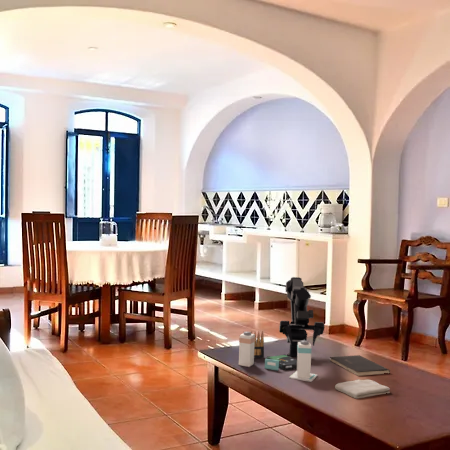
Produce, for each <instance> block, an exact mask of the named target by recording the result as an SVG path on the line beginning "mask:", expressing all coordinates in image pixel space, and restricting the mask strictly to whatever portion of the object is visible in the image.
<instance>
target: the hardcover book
mask: <svg viewBox="0 0 450 450" xmlns="http://www.w3.org/2000/svg"><path fill="white" fill-rule="evenodd" d="M329 359H330V362H332V363H334V364H335V365H337V366H339V367H340V368H343V369H344V370H346V371H348V372H350V373H352V374H354V375H355V376H357V377H359V376H371V375H372V376H373V375H385V374H384V373H388V374H389V373H390V374H391V370H390V369H389V368H386V366H384V365H381V364H378V363H376V362H375V361H372V360H370V359H368V358H366V357H364V356H362V355H359V354H357V355H342V356H341V355H340V356H329Z"/></svg>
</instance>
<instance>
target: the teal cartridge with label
mask: <svg viewBox="0 0 450 450" xmlns="http://www.w3.org/2000/svg"><path fill="white" fill-rule="evenodd" d="M264 369H266V370H267V369H268V370H272V371H279V370H280V369H279V361H277V360H271V359H266V358H265V359H264Z"/></svg>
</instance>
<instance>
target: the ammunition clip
mask: <svg viewBox="0 0 450 450" xmlns="http://www.w3.org/2000/svg"><path fill="white" fill-rule="evenodd" d="M244 332H245V331H243V333H244ZM246 332H249V331H248V330H247V331H246ZM250 332H251V334H255V343H254V359H258V358H259V359H261V358H262V359H263V358H265V347H264V346H265V340H264V331H261V333H260V330H258V332H256V331H254V332H253V331H252V330H251V331H250ZM243 333H242V334H243Z"/></svg>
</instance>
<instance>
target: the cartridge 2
mask: <svg viewBox="0 0 450 450" xmlns="http://www.w3.org/2000/svg"><path fill="white" fill-rule="evenodd" d="M296 360H297V369H296V371H297V377H306V378H310V373H311V369H312V368H311V366H312V365H311V363H312V344H311V342H309V340H307V341H306V340H302V341H301V342H298V345H297V357H296Z"/></svg>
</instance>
